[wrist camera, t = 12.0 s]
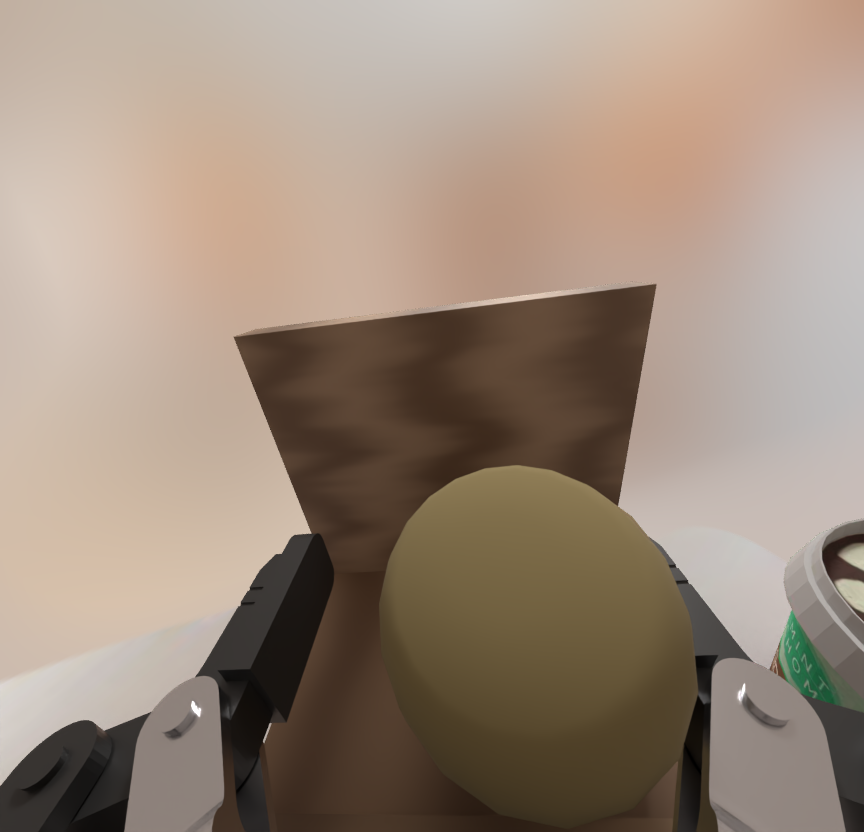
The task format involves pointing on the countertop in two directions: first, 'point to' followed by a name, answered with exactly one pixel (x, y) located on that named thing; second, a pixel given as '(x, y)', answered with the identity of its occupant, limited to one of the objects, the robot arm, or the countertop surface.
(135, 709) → the countertop surface
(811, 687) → the food container
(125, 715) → the countertop surface
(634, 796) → the cork
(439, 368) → the wooden chair
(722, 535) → the countertop surface
